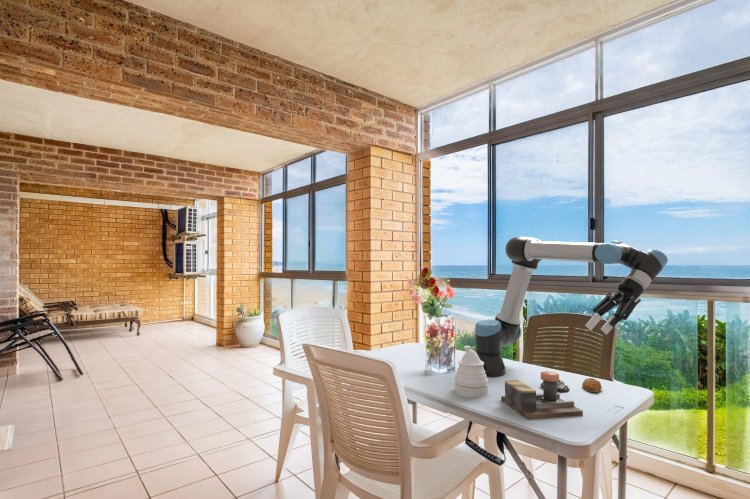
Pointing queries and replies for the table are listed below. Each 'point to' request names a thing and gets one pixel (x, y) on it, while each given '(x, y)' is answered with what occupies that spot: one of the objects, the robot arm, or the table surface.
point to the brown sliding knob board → (536, 403)
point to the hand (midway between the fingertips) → (595, 329)
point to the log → (560, 387)
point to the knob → (549, 386)
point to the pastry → (592, 385)
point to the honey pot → (471, 375)
